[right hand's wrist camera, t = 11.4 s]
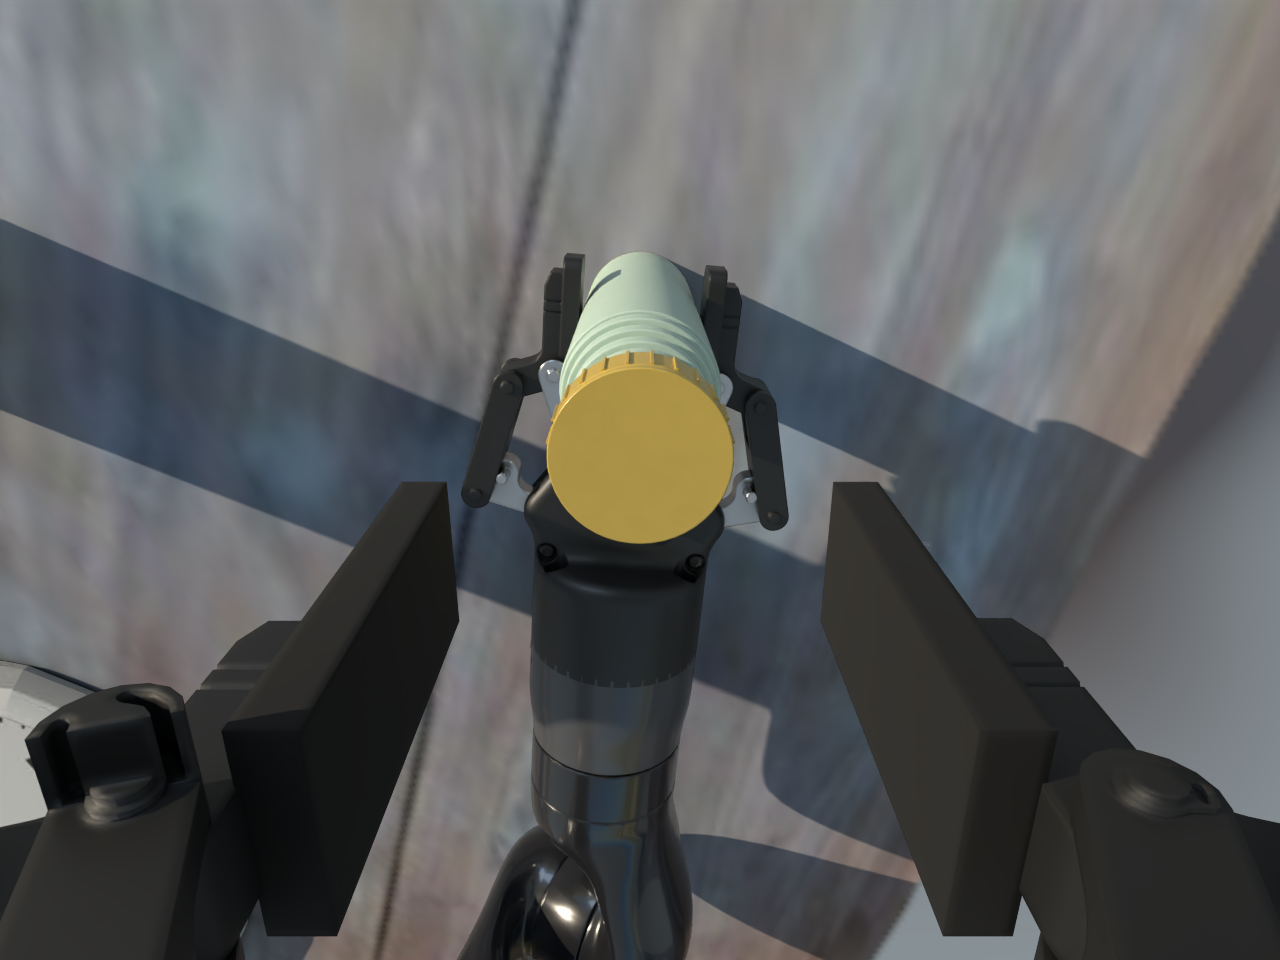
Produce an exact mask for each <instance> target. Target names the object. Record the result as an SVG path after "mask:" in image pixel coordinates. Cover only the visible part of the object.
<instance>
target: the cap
mask: <svg viewBox="0 0 1280 960" xmlns="http://www.w3.org/2000/svg"><path fill="white" fill-rule="evenodd" d="M551 421H552V422H553V425H552V426H551V428H550V431H549V434H548V437H547V440H546V444H548V445H547V467H548V473H549V476H550V480H551V483H552V486H553V488H554V491H555V493H556V495H557V496H558V498H559V500H560V502H561V503H562V504H563V506H564V507H565V508H566V510H567V511H568V512H569V513H570V514H571V515H572V516H573V517H574V518H575V519H576V520H577V521H578V522H580V523H581V524H582V525H583V526H585V527H586V528H588V529H590V530H591V531H593V532H595V533H597V534H599V535H601V536H603V537H606V538H609V539H612V540H615V541H620V542H625V543H635V544H646V543H656V542H661V541H665V540H669V539H672V538H675V537H677V536H680V535H682V534H684V533H686V532H688V531H689V530H691V529H693V528H694V527H696V526H697V525H699V524H700V523H701V522H702V521H704V520H705V519H706V518H707V517H708V516H709V515H710V514H711V513H712V512H713V511H714V509H715V508H716V507H717V505H718V504H719V503H720V501H721V499H722V498H723V496H724V494H725V492H726V490H727V488H728V485H729V483H730V479H731V475H732V471H733V466H734V446H733V443H735V441H734V438H733V434H732V431H731V428H730V425H728V423H727V421H729V417H728V414H727V411H726V408H725V405H724V403H723V404H721V403H720V400H719V398H718V396H717V394H716V391H715V388H714V386H713V384H711V385H710V384H709V383H708V382H707V381H706V380H705V379H704V378H703V377H702V376H701V375H700V374H699V373H698V369H697V368H694V369H693V368H691V367H690V366H688V365H686V364H685V363H683V362H681V361H679V360H677V357H676V356H674V357H673V358H672V357H669V356H666V355H662V354H657V353H654V351H653V350H650V352H630V350H627V351H626V353H624V354H619V355H615V356H612V357H609V358H607V357H606V356H605V357H603V360H602V361H600V362H598V363H596V364H594V365H593V366H591V367H590V368H588V369H586V368H584V369H583V370H582V374H581V375H580V376H578V377H577V378H576V379H575V381H574V382H573V383H572V384H571V385H569V384H568V385H567V386H566V389H565V393H564V396H563V398H562V400H561V402H560V404H559V405H558V404H557V405H556V407H555V410H554V413H553V416H552V419H551Z"/></svg>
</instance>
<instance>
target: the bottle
mask: <svg viewBox="0 0 1280 960" xmlns="http://www.w3.org/2000/svg"><path fill="white" fill-rule="evenodd" d="M627 350H630V352H650V350H653V351H654V353H657V354H662V355H666V356H669V357H672V358H673V357H674V356H676V357H677V360H679V361H681V362H683V363H685V364H686V365H688V366H690V367H691V368H693V369H694V368H697V369H698V373H699V374H700V375H701V376H702V377H703V378H704V379H705V380H706V381H707V382H708V383H709V384H710V385H711V384H713V386H714V388H715V391H716V394H717V396H718V398H719V400H720V398H721V378H720V373H719V368H718V365H717V362H716V359H715V356H714V354H713V351H712V348H711V346H710V343H709V340H708V338H707V335H706V332H705V330H704V327H703V324H702V321H701V319H700V316H699V313H698V311H697V308H696V305H695V303H694V300H693V297H692V294H691V292H690V289H689V286H688V284H687V282H686V280H685V278H684V276H683V275H682V273H681V272H680V271H679V269H678V268H677V267H676V266H675V265H673V264H672V263H671V262H670V261H668V260H667V259H665V258H663V257H661V256H659V255H656V254H652V253H647V252H633V253H628V254H624V255H622V256H619V257H617V258H615V259H613V260H612V261H611V262H609V263H608V264H607V265H606V266H605V267H603V269H602V270H601V271H600V272H599V273H598V275H597V277H596V278H595V280H594V282H593V284H592V287H591V290H590V293H589V295H588V298H587V301H586V303H585V306H584V309H583V312H582V314H581V317H580V320H579V322H578V325H577V328H576V331H575V333H574V336H573V339H572V342H571V344H570V347H569V350H568V352H567V355H566V358H565V361H564V364H563V367H562V370H561V376H560V384H559V394H560V402H561V400H562V398H563V396H564V393H565V389H566V386H567V385H568V384H569V385H571V384H572V383H573V382H574V381H575V379H576V378H577V377H578V376H580V375H581V374H582V370H583V369H584V368H586V369H588V368H590V367H591V366H593V365H594V364H596V363H598V362H600V361H602V360H603V357H605V356H606V357H607V358H609V357H612V356H615V355H619V354H624V353H626V351H627Z"/></svg>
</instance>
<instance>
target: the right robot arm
mask: <svg viewBox="0 0 1280 960" xmlns="http://www.w3.org/2000/svg"><path fill="white" fill-rule="evenodd" d="M458 623H459V612H458V601H457V591H456V580H455V569H454V558H453V547H452V536H451V525H450V514H449V503H448V492H447V482H402V483H401V484H400V486H399V487H398V488H397V490H396V491H395V493H394V494H393V495H392V497H391V498H390V499H389V501H388V502H387V503H386V505H385V506H384V508H383V509H382V510H381V512H380V513H379V514H378V516H377V517H376V519H375V520H374V521H373V523H372V524H371V525H370V527H369V528H368V530H367V531H366V532H365V534H364V535H363V536H362V538H361V539H360V541H359V542H358V543H357V545H356V546H355V547H354V549H353V550H352V552H351V553H350V554H349V556H348V557H347V558H346V560H345V561H344V563H343V564H342V565H341V567H340V568H339V569H338V571H337V572H336V574H335V575H334V576H333V578H332V579H331V580H330V582H329V583H328V585H327V586H326V587H325V589H324V590H323V591H322V593H321V594H320V596H319V597H318V598H317V600H316V601H315V602H314V604H313V605H312V607H311V608H310V609H309V611H308V612H307V613H306V615H305V616H304V618H303V619H302V620H301V621H268V622H266V623H265V624H263V625H262V626H260V627H258V628H257V629H255V630H254V631H252V632H251V633H249V634H248V635H246V636H244V637H243V638H241V639H240V640H238V641H237V642H236V643H235V644H234V645H233V647H232V648H231V649H230V650H229V651H228V653H227V654H226V655H225V656H224V657H223V659H222V660H221V661H220V662H219V663H218V665H217V670H213V671H212V672H211V673H210V674H209V676H208V677H207V678H206V679H205V680H204V682H203V683H202V684H201V689H200V690H196V691H195V692H194V694H193V695H192V696H191V697H190V698H189V700H188V701H187V702H186V703H185V704H184V700H183V696H181V695H180V694H179V693H177V692H176V691H175V690H173V689H172V688H171V687H168V686H162V685H156V684H151V683H145V684H132V685H121V686H117V687H113V688H109V689H106V690H102V691H98V692H94V693H91V694H89V695H86V696H84V697H82V698H80V699H77V700H75V701H73V702H71V703H68V704H66V705H64V706H62V707H61V708H59V709H58V710H56V711H55V712H53V713H52V714H50V715H49V716H47V717H46V718H44V719H43V720H41V721H40V722H39V723H38V724H37V725H36V726H35V728H34V729H33V730H32V731H31V732H30V734H29V735H28V736H27V737H26V738H25V743H26V746H27V749H28V752H29V755H30V758H31V762H32V765H33V768H34V771H35V774H36V777H37V780H38V783H39V786H40V789H41V792H42V795H43V798H44V801H45V804H46V807H47V810H48V811H47V813H46V816H45V817H41V818H38V819H34V820H30V821H26V822H21V823H17V824H12V825H7V826H3V827H0V960H245V956H244V949H243V945H242V941H241V937H240V934H241V932H242V930H243V928H244V926H245V924H246V922H247V920H248V918H249V916H250V914H251V912H252V910H253V908H254V906H255V904H256V902H257V900H258V898H259V902H260V906H261V910H262V915H263V919H264V924H265V928H266V933H267V936H337V935H338V932H339V930H340V927H341V924H342V922H343V919H344V917H345V914H346V911H347V909H348V906H349V904H350V901H351V899H352V896H353V893H354V891H355V888H356V886H357V883H358V881H359V878H360V875H361V873H362V870H363V868H364V865H365V863H366V860H367V857H368V855H369V852H370V850H371V847H372V844H373V842H374V839H375V837H376V834H377V832H378V829H379V826H380V824H381V821H382V819H383V816H384V814H385V811H386V808H387V806H388V803H389V801H390V798H391V796H392V793H393V790H394V788H395V785H396V783H397V780H398V777H399V775H400V772H401V770H402V767H403V765H404V762H405V759H406V757H407V754H408V752H409V749H410V747H411V744H412V741H413V739H414V736H415V734H416V731H417V729H418V726H419V723H420V721H421V718H422V716H423V713H424V710H425V708H426V705H427V703H428V700H429V698H430V695H431V692H432V690H433V687H434V685H435V682H436V680H437V677H438V674H439V672H440V669H441V667H442V664H443V662H444V659H445V656H446V654H447V651H448V649H449V646H450V643H451V641H452V638H453V636H454V633H455V631H456V628H457V625H458ZM821 623H822V625H823V628H824V631H825V633H826V636H827V638H828V641H829V643H830V646H831V649H832V651H833V654H834V656H835V659H836V662H837V664H838V667H839V669H840V672H841V674H842V677H843V680H844V682H845V685H846V687H847V690H848V692H849V695H850V698H851V700H852V703H853V705H854V708H855V710H856V713H857V716H858V718H859V721H860V723H861V726H862V729H863V731H864V734H865V736H866V739H867V741H868V744H869V747H870V749H871V752H872V754H873V757H874V759H875V762H876V765H877V767H878V770H879V772H880V775H881V777H882V780H883V783H884V785H885V788H886V790H887V793H888V796H889V798H890V801H891V803H892V806H893V808H894V811H895V814H896V816H897V819H898V821H899V824H900V826H901V829H902V832H903V834H904V837H905V839H906V842H907V844H908V847H909V850H910V852H911V855H912V857H913V860H914V863H915V865H916V868H917V870H918V873H919V875H920V878H921V881H922V883H923V886H924V888H925V891H926V893H927V896H928V898H929V901H930V904H931V906H932V909H933V911H934V914H935V917H936V919H937V922H938V924H939V927H940V929H941V932H942V935H943V936H1013V933H1014V928H1015V924H1016V919H1017V915H1018V910H1019V906H1020V902H1021V897H1022V896H1023V898H1024V900H1025V902H1026V904H1027V906H1028V908H1029V910H1030V912H1031V914H1032V916H1033V918H1034V919H1035V921H1036V923H1037V925H1038V927H1039V929H1040V931H1041V933H1040V937H1039V941H1038V945H1037V949H1036V954H1035V958H1034V960H1280V823H1275V822H1271V821H1266V820H1261V819H1257V818H1252V817H1248V816H1244V815H1241V814H1237V813H1234V812H1233V809H1232V808H1231V807H1230V805H1229V804H1228V802H1227V801H1226V800H1225V798H1224V797H1223V795H1222V794H1221V793H1220V791H1219V790H1218V789H1217V788H1215V787H1214V786H1213V785H1211V784H1210V783H1209V782H1208V781H1206V780H1205V779H1204V778H1203V777H1201V776H1200V775H1199V774H1197V773H1196V772H1194V771H1192V770H1190V769H1188V768H1186V767H1184V766H1182V765H1180V764H1178V763H1176V762H1174V761H1172V760H1170V759H1168V758H1164V757H1161V756H1157V755H1154V754H1151V753H1147V752H1144V751H1140V750H1136V749H1135V747H1134V746H1133V745H1132V744H1131V743H1130V741H1129V740H1128V739H1127V738H1126V737H1125V736H1124V734H1123V733H1122V732H1121V731H1120V729H1119V728H1118V727H1117V726H1116V725H1115V723H1114V722H1113V721H1112V720H1111V719H1110V717H1109V716H1108V715H1107V714H1106V713H1105V711H1104V710H1103V709H1102V708H1101V707H1100V705H1099V704H1098V703H1097V702H1096V701H1095V700H1094V698H1093V697H1092V696H1091V695H1090V694H1089V692H1088V691H1087V690H1086V689H1085V688H1084V687H1080V682H1079V680H1078V679H1077V678H1076V677H1075V676H1074V674H1073V673H1072V672H1071V671H1070V670H1069V668H1068V667H1064V665H1063V661H1062V660H1061V659H1060V658H1059V656H1058V655H1057V654H1056V653H1055V652H1054V650H1053V649H1052V648H1051V647H1050V646H1049V644H1048V643H1047V642H1046V641H1045V640H1044V639H1043V638H1042V637H1040V636H1039V635H1037V634H1036V633H1034V632H1032V631H1031V630H1029V629H1028V628H1026V627H1025V626H1023V625H1021V624H1020V623H1018V622H1017V621H1015V620H1014V619H1012V618H976V616H975V615H974V613H973V612H972V611H971V609H970V608H969V607H968V605H967V604H966V602H965V601H964V600H963V598H962V597H961V596H960V594H959V593H958V591H957V590H956V589H955V587H954V586H953V585H952V583H951V582H950V580H949V579H948V578H947V576H946V575H945V574H944V572H943V571H942V569H941V568H940V567H939V565H938V564H937V563H936V561H935V560H934V558H933V557H932V556H931V554H930V553H929V552H928V550H927V549H926V547H925V546H924V545H923V543H922V542H921V541H920V539H919V538H918V536H917V535H916V534H915V532H914V531H913V530H912V528H911V527H910V525H909V524H908V523H907V521H906V520H905V519H904V517H903V516H902V514H901V513H900V512H899V510H898V509H897V508H896V506H895V505H894V503H893V502H892V501H891V499H890V498H889V497H888V495H887V494H886V493H885V491H884V490H883V488H882V487H881V486H880V484H879V483H878V482H833V492H832V503H831V514H830V525H829V536H828V547H827V558H826V569H825V580H824V591H823V601H822V612H821Z"/></svg>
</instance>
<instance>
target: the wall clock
mask: <svg viewBox="0 0 1280 960" xmlns="http://www.w3.org/2000/svg"><path fill="white" fill-rule="evenodd" d="M91 693H94V692H93V691H91V690H88V689H86V688H83V687H81V686H78V685H76V684H73V683H71V682H68V681H66V680H63V679H61V678H58V677H56V676H53V675H50V674H48V673H45V672H43V671H40V670H38V669H35V668H33V667H30V666H27V665H22V664H17V663H11V662H6V661H0V827H3V826H7V825H12V824H17V823H21V822H26V821H30V820H34V819H38V818H41V817H45V816H46V813H47V811H48V810H47V807H46V804H45V801H44V798H43V795H42V792H41V789H40V786H39V783H38V780H37V777H36V774H35V771H34V768H33V765H32V762H31V758H30V755H29V752H28V749H27V746H26V743H25V738H26V737H27V736H28V735H29V734H30V732H31V731H32V730H33V729H34V728H35V726H36V725H37V724H38V723H39V722H40V721H41V720H43V719H44V718H46V717H47V716H49V715H50V714H52V713H53V712H55V711H56V710H58V709H59V708H61V707H62V706H64V705H66V704H68V703H71V702H73V701H75V700H77V699H80V698H82V697H84V696H86V695H89V694H91ZM247 924H248V920H247V922H246V924H245V926H244V928H243V930H242V932H241V934H240V937H241V936H242V934H243V932H244V930H245V928H246V926H247Z"/></svg>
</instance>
